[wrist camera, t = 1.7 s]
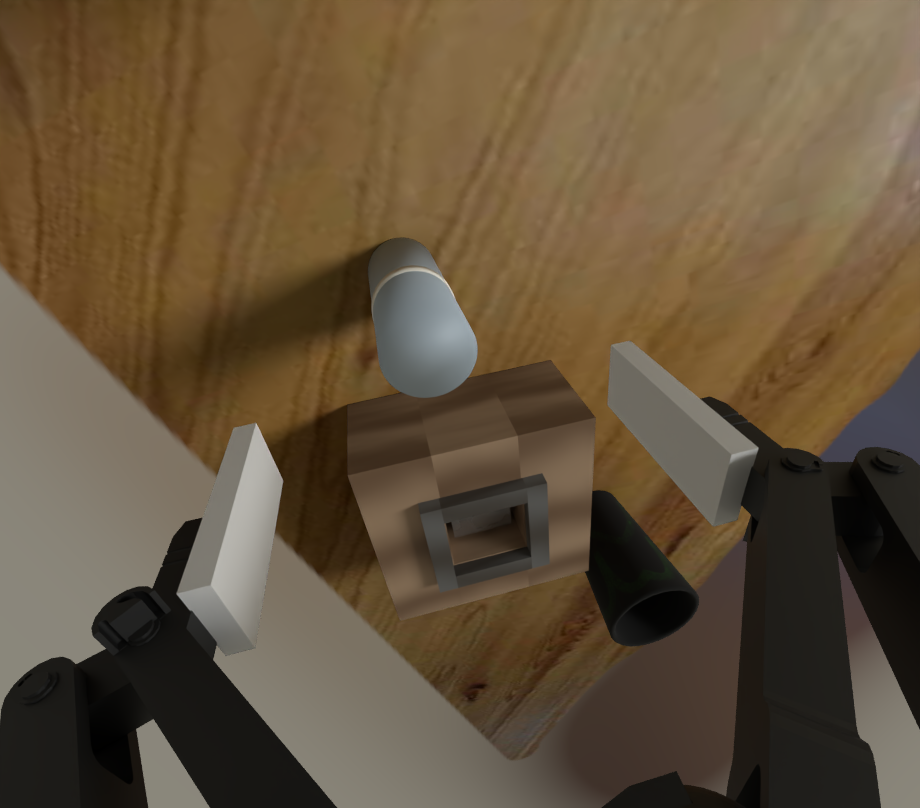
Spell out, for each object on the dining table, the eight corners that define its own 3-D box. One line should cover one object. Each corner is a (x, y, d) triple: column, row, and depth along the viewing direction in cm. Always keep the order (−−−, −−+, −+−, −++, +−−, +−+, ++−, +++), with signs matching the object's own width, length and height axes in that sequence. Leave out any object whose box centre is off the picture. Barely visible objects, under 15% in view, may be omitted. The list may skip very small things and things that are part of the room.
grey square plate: (444, 488, 34) (446, 496, 34) (504, 474, 35) (507, 481, 34) (452, 530, 37) (455, 537, 36) (508, 516, 38) (511, 523, 37)
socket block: (347, 404, 35) (347, 486, 28) (550, 360, 36) (602, 426, 29) (392, 542, 44) (401, 632, 37) (553, 502, 46) (593, 580, 38)
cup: (557, 545, 49) (611, 656, 39) (551, 496, 45) (610, 607, 35) (625, 524, 50) (695, 628, 40) (626, 473, 45) (704, 576, 36)
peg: (359, 244, 29) (366, 318, 19) (430, 230, 29) (472, 297, 20) (376, 311, 32) (389, 407, 22) (441, 298, 32) (483, 387, 22)
